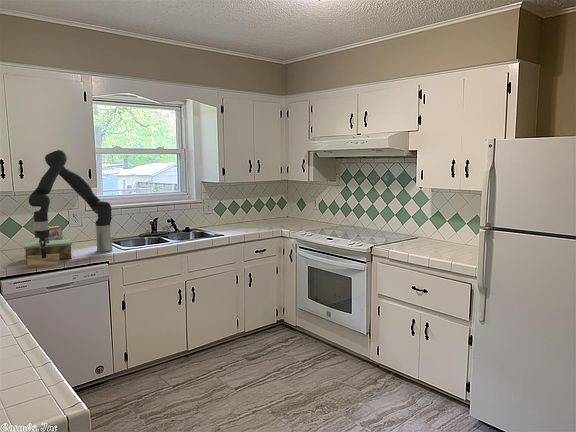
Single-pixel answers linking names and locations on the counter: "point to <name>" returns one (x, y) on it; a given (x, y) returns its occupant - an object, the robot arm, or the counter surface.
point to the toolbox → (52, 251)
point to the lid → (48, 243)
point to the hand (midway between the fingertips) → (44, 256)
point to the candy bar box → (55, 233)
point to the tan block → (43, 260)
